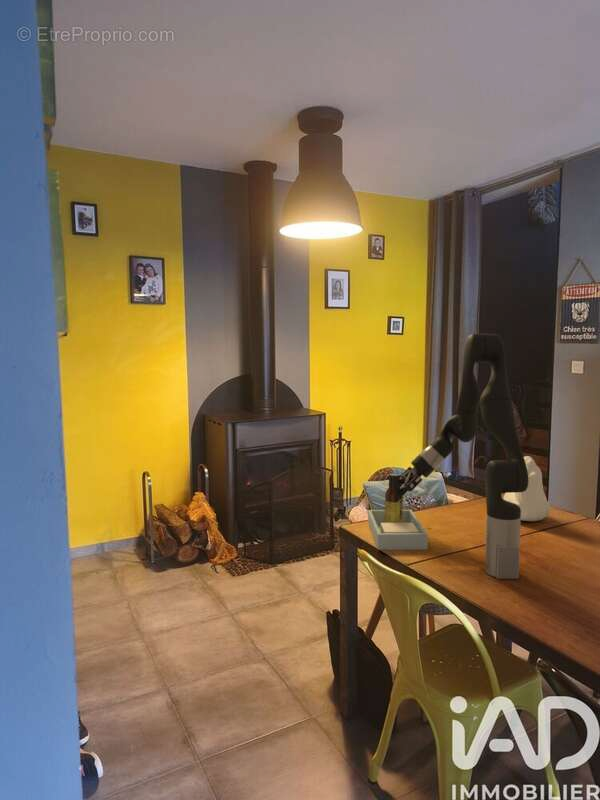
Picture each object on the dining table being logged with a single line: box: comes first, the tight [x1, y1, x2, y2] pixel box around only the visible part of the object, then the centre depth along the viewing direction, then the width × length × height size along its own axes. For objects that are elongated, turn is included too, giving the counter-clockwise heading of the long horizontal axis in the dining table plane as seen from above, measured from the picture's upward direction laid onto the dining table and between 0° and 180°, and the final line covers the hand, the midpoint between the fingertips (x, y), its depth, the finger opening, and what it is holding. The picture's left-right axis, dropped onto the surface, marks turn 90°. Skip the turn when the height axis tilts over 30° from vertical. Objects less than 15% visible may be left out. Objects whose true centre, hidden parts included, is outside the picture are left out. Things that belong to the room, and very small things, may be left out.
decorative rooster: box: [503, 455, 551, 522], centre depth 206 cm, size 25×16×25 cm, turn 167°
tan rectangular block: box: [380, 523, 418, 533], centre depth 179 cm, size 9×11×5 cm
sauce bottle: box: [384, 473, 404, 523], centre depth 190 cm, size 7×6×20 cm
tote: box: [367, 509, 429, 551], centre depth 185 cm, size 26×16×6 cm, turn 0°
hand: (395, 493), depth 190 cm, fingers open, 8 cm apart
